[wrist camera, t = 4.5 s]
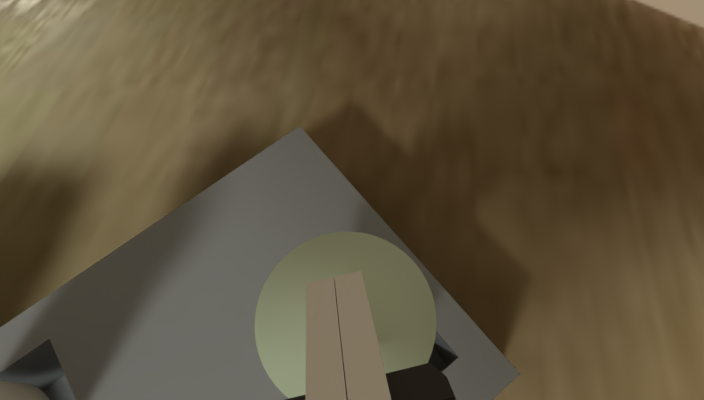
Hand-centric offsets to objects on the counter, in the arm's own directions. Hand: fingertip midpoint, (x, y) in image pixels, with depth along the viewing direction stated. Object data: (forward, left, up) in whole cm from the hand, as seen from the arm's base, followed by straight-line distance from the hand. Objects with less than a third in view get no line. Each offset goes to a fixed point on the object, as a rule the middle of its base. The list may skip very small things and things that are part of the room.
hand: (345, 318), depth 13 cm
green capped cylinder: (0, 0, -11) cm, 11 cm away
